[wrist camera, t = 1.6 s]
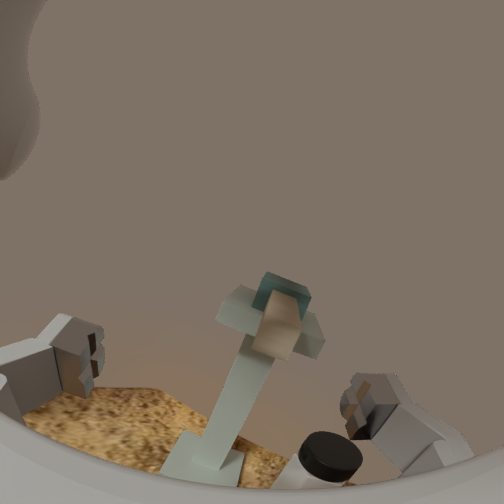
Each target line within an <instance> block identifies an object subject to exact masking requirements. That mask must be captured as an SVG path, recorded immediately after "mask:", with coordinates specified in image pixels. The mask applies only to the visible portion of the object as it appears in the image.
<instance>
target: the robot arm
mask: <svg viewBox="0 0 504 504" xmlns="http://www.w3.org/2000/svg"><path fill="white" fill-rule="evenodd" d="M46 1H47V0H0V180H5V179H7V178H8V177H10V176H11V175H12V174H14V173H15V172H16V171H17V170H18V169H19V168H20V167H21V166H22V165H23V164H24V162H25V161H26V160H27V158H28V156H29V155H30V153H31V151H32V149H33V147H34V145H35V142H36V140H37V136H38V133H39V127H40V107H39V102H38V99H37V96H36V94H35V92H34V90H33V88H32V84H31V82H30V77H29V73H28V64H27V54H28V45H29V40H30V36H31V32H32V29H33V26H34V24H35V21H36V19H37V17H38V15H39V13H40V11H41V10H42V8H43V6H44V5H45V3H46ZM103 339H104V330H103V328H102V327H101V326H98V325H95V324H92V323H89V322H86V321H84V320H81V319H78V318H74V317H72V316H69V315H66V314H64V313H60V314H58V315H57V316H56V317H55V318H54V319H53V320H52V321H51V322H50V323H49V325H48V326H47V327H46V328H45V329H44V330H43V331H42V332H41V333H40V335H39V336H38V337H37V338H36V339H32V338H30V339H26V340H23V341H20V342H17V343H13V344H10V345H7V346H4V347H0V504H504V445H503V446H500V447H498V448H496V449H494V450H491V451H489V452H486V453H484V454H481V455H478V456H476V457H475V456H474V454H473V453H472V451H471V449H470V447H469V445H468V444H467V442H466V440H465V439H464V437H463V435H462V434H460V433H459V432H458V431H456V430H454V429H453V428H452V427H450V426H449V425H447V424H446V423H444V422H443V421H441V420H440V419H438V418H437V417H435V416H434V415H433V414H431V413H430V412H428V411H427V410H425V409H424V408H422V407H421V406H419V405H418V404H413V402H412V400H411V399H410V397H409V396H408V394H407V392H406V390H405V388H404V387H403V385H402V383H401V382H400V380H399V379H398V377H397V375H395V374H391V373H385V374H384V373H382V374H374V373H356V374H355V375H354V376H353V377H352V379H351V381H350V382H351V387H350V388H348V389H347V390H345V391H344V393H343V396H342V397H341V402H340V411H341V415H342V417H344V418H345V419H346V420H347V423H346V425H345V427H346V430H347V433H348V436H349V439H350V440H371V441H372V442H373V443H374V444H375V445H376V447H377V448H378V449H379V450H380V451H382V453H383V454H384V455H385V456H386V457H387V458H388V459H389V460H390V461H391V462H392V463H393V464H394V465H395V466H396V467H397V468H398V469H399V470H400V471H401V472H402V474H401V475H400V476H399V477H398V478H397V479H393V480H388V481H382V482H376V483H369V484H362V485H354V486H345V487H334V488H319V489H256V488H241V487H230V486H221V485H213V484H206V483H199V482H193V481H187V480H181V479H176V478H171V477H166V476H162V475H157V474H153V473H149V472H145V471H141V470H137V469H134V468H130V467H127V466H123V465H120V464H117V463H114V462H110V461H107V460H104V459H101V458H99V457H96V456H93V455H90V454H87V453H85V452H82V451H80V450H77V449H75V448H72V447H70V446H67V445H65V444H63V443H60V442H58V441H56V440H54V439H51V438H49V437H47V436H45V435H43V434H41V433H39V432H37V431H35V430H33V429H31V428H29V427H27V425H26V423H25V421H24V419H23V417H22V416H23V415H25V414H27V413H28V412H30V411H32V410H34V409H35V408H37V407H39V406H40V405H42V404H44V403H46V402H47V401H49V400H51V399H52V398H54V397H56V396H57V395H59V394H61V393H62V391H64V392H66V393H69V394H72V395H75V396H78V397H80V398H83V399H87V398H88V396H89V394H90V392H91V390H92V388H93V386H94V382H93V378H95V377H98V376H99V374H100V373H101V371H102V367H103V364H104V358H105V349H104V347H103V346H102V344H101V342H102V340H103Z"/></svg>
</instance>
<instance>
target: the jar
mask: <svg viewBox="0 0 504 504" xmlns="http://www.w3.org/2000/svg"><path fill="white" fill-rule="evenodd" d="M362 461H363V457H362V454H361V452H360V450H359V449H358V448H357V447H356V445H354V444H353V443H352V442H350V441H349V440H348V439H346V438H344V437H342V436H340V435H338V434H335V433H331V432H324V431H319V432H314V433H312V434H310V435H309V436H308V437H307V439H306V440H305V441H304V443H303V444H302V446H301V448H300V450H299V451H297V452H295V453H294V454H293V456H292V457H291V459H290V460H289V462H288V463H287V465H286V466H285V467H284V469H283V470H282V472H281V473H280V475H279V476H278V477H277V479H276V480H275V482H274V483H273V484H272V486H271V487H270V488H269V489H319V488H334V487H343V486H344V485H345V484H346V483H347V482H348V480H349V479H350V478H351V477H352V475H354V473H355V472H356V471H357V470H358V468H359V467H360V466H361V464H362Z"/></svg>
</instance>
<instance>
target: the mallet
mask: <svg viewBox="0 0 504 504" xmlns="http://www.w3.org/2000/svg"><path fill="white" fill-rule="evenodd" d="M310 300H311V296H310V293H309V291H308V289H307V287H305V286H303V285H300V284H298V283H294V282H292V281H290V280H287V279H285V278H282V277H280V276H277V275H275V274H272V273H270V272H267V273H266V274H265V275H264V277H263V278H262V281H261V284H260V286H259V289H258V291H257V293H256V296H255V298H254V301H253V303H252V306H251V307H252V308H255V309H257V310H260V311H262V312H263V315H262V318H261V321H260V324H259V327H258V330H257V333H256V336H255V339H254V342H253V345H252V348H251V349H253V350H256V351H258V352H261V353H264V354H266V355H269V356H271V357H274V358H277V359H279V360H282V361H285V362H287V361H288V359H289V356H290V354H291V352H292V350H293V348H294V346H295V344H296V342H297V339H298V337H299V335H300V333H301V331H302V325H301V321H302V319H303V316H304V314H305V312H306V309H307V307H308V304H309V302H310Z"/></svg>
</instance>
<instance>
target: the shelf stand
mask: <svg viewBox="0 0 504 504" xmlns="http://www.w3.org/2000/svg"><path fill="white" fill-rule="evenodd" d="M256 293H257V291H255V290H252V289H250V288H248V287H245V286H243V285H240V286H239V287H238V288H237V289H235V290H234V291H233V292H232V293H231V294H230V295H229V296H228V297H227V298H225V299H224V300H223V301H222V304H221V307H220V309H219V312H218V315H217V317H216V321H218V322H220V323H223V324H225V325H227V326H230V327H232V328H234V329H237V330H239V331H242V332H244V333H246V335H245V338H244V340H243V343H242V345H241V347H240V350H239V352H238V355H237V357H236V359H235V362H234V364H233V366H232V369H231V371H230V373H229V376H228V378H227V380H226V383H225V385H224V387H223V390H222V392H221V394H220V397H219V399H218V401H217V404H216V406H215V408H214V411H213V413H212V415H211V417H210V420H209V422H208V424H207V426H206V429H205V431H204V433H203V435H202V437H201V436H198V435H196V434H194V433H191V432H189V431H187V430H185V429H184V431H183V432H182V434H181V436H180V437H179V439H178V441H177V443H176V444H175V446H174V448H173V449H172V451H171V453H170V454H169V456H168V458H167V459H166V461H165V463H164V465H163V466H162V468H161V470H160V471H159V473H158V475H162V476H166V477H171V478H176V479H181V480H187V481H193V482H199V483H206V484H213V485H221V486H230V487H237V484H238V480H239V475H240V471H241V467H242V463H243V458H244V454H245V453H242V452H239V451H237V450H234V449H231V447H232V445H233V443H234V441H235V439H236V437H237V435H238V433H239V431H240V429H241V428H242V426H243V424H244V422H245V420H246V418H247V416H248V414H249V412H250V410H251V408H252V406H253V404H254V402H255V400H256V398H257V396H258V394H259V392H260V390H261V388H262V385H263V383H264V381H265V379H266V377H267V375H268V373H269V371H270V369H271V366H272V364H273V362H274V360H275V358H274V357H271V356H269V355H266V354H264V353H261V352H258V351H256V350H253V349H251V348H252V345H253V342H254V339H255V336H256V333H257V330H258V327H259V324H260V321H261V318H262V315H263V312H262V311H260V310H257V309H255V308H252V307H251V306H252V303H253V301H254V298H255V296H256ZM301 325H302V331H301V333H300V335H299V337H298V339H297V342H296V344H295V346H294V348H293V350H292V351H293V352H296V353H299V354H301V355H304V356H307V357H310V358H313V359H315V360H316V359H317V357H318V355H319V353H320V351H321V349H322V347H323V345H324V343H325V339H324V336H323V334H322V331H321V329H320V326H319V324H318V321H317V319H316V316H315V314H314V313H311V312H308V311H306V312H305V314H304V316H303V319H302V321H301Z"/></svg>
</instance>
